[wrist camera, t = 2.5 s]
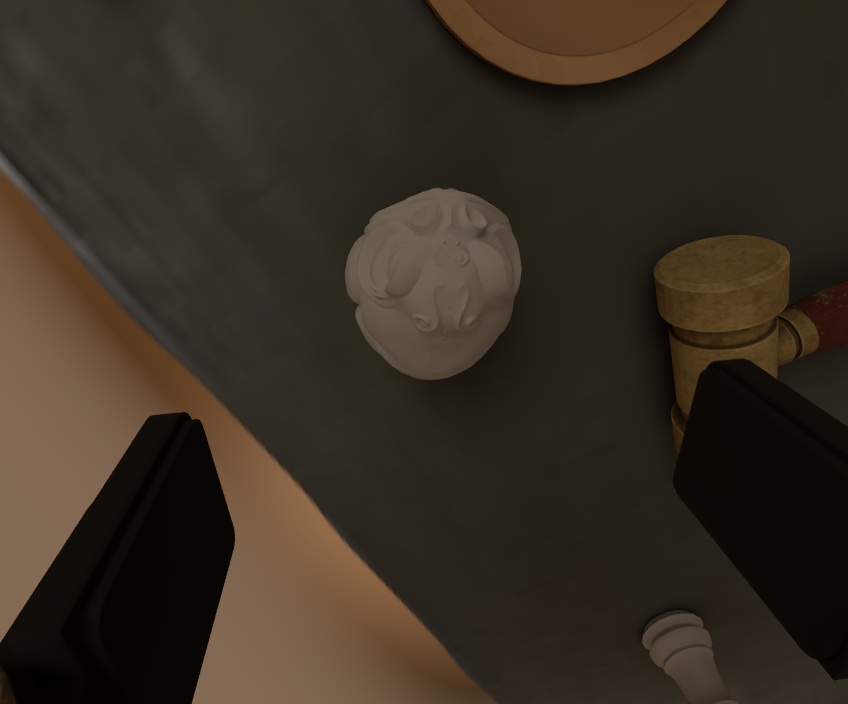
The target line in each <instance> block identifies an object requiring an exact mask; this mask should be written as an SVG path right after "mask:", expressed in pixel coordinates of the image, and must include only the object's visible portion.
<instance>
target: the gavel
mask: <svg viewBox="0 0 848 704" xmlns="http://www.w3.org/2000/svg"><path fill="white" fill-rule="evenodd" d="M789 275H790V254H789V252H788V250H787V249H786V248H785V247H784V246H782V245H781V244H779V243H776V242H774V241H771V240H768V239H765V238H761V237H755V236H747V235H729V236H718V237H712V238H706V239H702V240H698V241H694V242H691V243H688V244H685V245H683V246H681V247H679V248H676V249H675V250H673V251H671V252H670V253H668V254H667V255H665V256H664V257H663V258H662V259H660V260H659V261H658V263H657V264H656V265H655V268H654V278H655V286H656V295H657V303H658V310H659V313H660V315H661V317H662V318H663V319H665V320H666V321H667V322H668V323H669V327H668V329H669V338H670V347H671V356H672V365H673V374H674V382H675V391H676V399H677V400H676V401H675V403H674V405H673V406H672V410H671V419H672V427H673V435H674V443H675V447H676V449H677V451H678V453H679V451H680V447H681V444H682V440H683V436H684V432H685V428H686V424H687V420H688V416H689V412H690V408H691V405H692V401H693V397H694V393H695V389H696V385H697V381H698V377H699V375H700V373H701V372H702V371H703V370H705V369H706V368H707V366H708V365H709V364H710V363H711V362H713V361H719V360H730V359H740V358H742V359H747V360H749V361H751V362H753V363H754V364H756V365H757V366H759V367H760V368H762V369H763V370H765V371H766V372H767V373H769V374H770V375H772V376H773V377H775V378H776V379H777V377H778V367H779V366H781V365H784V364H786V363H789V362H791V361H792V360H794V359H797V358H800V357H802V356H805V355H807V354H810V353H813V352H818V351H822V350H827V349H832V348H836V347H841V346H843V345H846V344H848V280H846V281H844V282H841V283H839V284H836V285H834V286H831V287H829V288H826V289H824V290H821V291H819V292H816V293H814V294H811V295H809V296H807V297H805V298H803V299H802V300H800V301H799V302H797V303H795V304H794V305H792V306H790V307H789V308H787V309H786V310H784V309H785V308H786V306H787V304H788V301H789ZM783 310H784V311H783Z"/></svg>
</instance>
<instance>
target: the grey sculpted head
mask: <svg viewBox="0 0 848 704" xmlns="http://www.w3.org/2000/svg"><path fill="white" fill-rule="evenodd" d="M369 221H370V223H369V224H368V225H367V226H366V227H365V230H364V235H362V236H361V237H359V238H358V240H357V241H356V242H355V243H354V245H353V247H352V249H351V251H350V253H349V255H348V258H347V263H346V269H345V281H346V289H347V292H348V295H349V296H350V298H351V299H352V300H353V301H354V302H356V303H357V304H359V306H358V307H357V309H356V313H355V317H356V321H357V323H358V325H359V327H360V329H361V330H362V333H363V335H364V337H365V338H366V340H367V341H368V343H369V344H370V345H371V346H372V347H373V348H374V349H375V350H376V351H377V352H378V353H379V354H381V355H382V356H383V357H384V359H385V360H386V361H387V362H388V363H389V364H390V365H391V366H393V367H394V368H396V369H397V370H399V371H400V372H402V373H404V374H407V375H409V376H411V377H413V378H417V379H423V380H426V379H428V380H433V379H436V380H437V379H444V378H448V377H451V376H453V375H455V374H458V373H460V372H462V371H464V370H466V369H467V368H469V367H471V366H472V365H474V364H475V363H476V362H477V361H478V360H479V359H480V358H481V357H482V356H483V355H484V354H485V353H486V352H487V351H488V349H489V348H490V347H491V346H492V345H493V343H494V342H495V341H496V339H497V338H498V336H499V335H500V334H501V333H502V332H503V331H504V330H505V328H506V326H507V325H508V323H509V321H510V317H511V314H512V312H513V303H514V297H515V296H516V294H517V292H518V289H519V286H520V278H521V262H520V255H519V249H518V244H517V242H516V240H515V237H514V235H513V234H512V228H511V226H510V225H509V224H510V222H509V219H508V218H507V216H506V215H505V214H504V213H502V212H501V211H500V210H499V209H497V208H496V207H494V206H493V205H491V204H490V203H488V202H486V201H485V200H483V199H481V198H480V197H478V196H475V195H472V194H470V193H465V192H460V191H458V190H456V189H451V188H449V189H447V190H446V189H440V188H433V189H431V190H427V191H424V192H421V193H419V194H417V195H414V196H412V197H409V198H407V199H405V200H404V201H401V202H399V203H396V204H394V205H392V206H390V207H387V208H385V209H383V210H381V211H378V212H377V213H376V214H375V215H373V217H372V218H371V219H370V220H369Z"/></svg>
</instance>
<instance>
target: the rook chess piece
mask: <svg viewBox="0 0 848 704" xmlns="http://www.w3.org/2000/svg"><path fill="white" fill-rule="evenodd" d="M703 625H704V624H703V622H702V620H701V618H699V617H698V616H696V615H694V614H692V613H690V612H688V611H684V610H674V611H669V612H665V613H663V614H661V615H658V616H656V617H655V618H654V619H652V620H651V621H650V622H649V623H648V624H647V625H646V627H645V628H644V632H643V639H642V643H643V645H644V647H645V648H646V649H648V650H650V653H649V655H650V657H651V658H652V660H653V661H654V663H655V664H656V665H657V666H659V667H661V668H664V671H665V672H666V674H668V675H670V676H671V677H672V678H673V679H674V680H675V682H676V683H677V684H678V685H679V687H680V688H681V690H682V691H683V693H684V694H685V696H686V697H687V699H688V700H689V702H690V703H691V704H739V703H738V702H736V701H735V700H733V699H732V698H731V696H730V695H729V693H728V691H727V690H726V688H725V686H724V684H723V682H722V680H721V677H720V675H719V673H718V671H717V669H716V666H715V663H714V660H713V657H714V653H713V651H712V650H711V647H712V640H711V637H710V635H709V633H708V631H707V630H705V629H703Z"/></svg>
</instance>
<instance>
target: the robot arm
mask: <svg viewBox="0 0 848 704" xmlns="http://www.w3.org/2000/svg"><path fill="white" fill-rule="evenodd" d="M673 484H674V488H675V490H676V492H677V494H678V496H679V497H680V498H681V499H682V501H683V502H684V503H685V504H686V506H687V507H688V508H689V509H690V511H691V512H692V513H693V514H694V516H695V517H696V518H697V519H698V521H699V522H700V523H701V524H702V526H703V527H704V528H705V529H706V531H707V532H708V533H709V534H710V536H711V537H712V538H713V539H714V541H715V542H716V543H717V544H718V546H719V547H720V548H721V549H722V551H723V552H724V553H725V554H726V556H727V557H728V558H729V559H730V561H731V562H732V563H733V564H734V566H735V567H736V568H737V569H738V571H739V572H740V573H741V574H742V576H743V577H744V578H745V579H746V581H747V582H748V583H749V584H750V586H751V587H752V588H753V589H754V591H755V592H756V593H757V594H758V596H759V597H760V598H761V599H762V601H763V602H764V603H765V604H766V606H767V607H768V608H769V609H770V611H771V612H772V613H773V614H774V616H775V617H776V618H777V619H778V621H779V622H780V623H781V624H782V626H783V627H784V628H785V629H786V631H787V632H788V633H789V634H790V636H791V637H792V638H793V639H794V641H795V642H796V643H797V644H798V646H799V647H800V648H801V649H802V650H803V651H804V652H805V653H806V654H807V655H808V656H810V657H811V658H814V659H817V660H818V661H819V663H820V664H821V665H822V666H823V668H824V669H825V670H826V671H827V673H828V674H829V675H830V676H831V677H832V679H833V680H840V679H846V678H848V427H847V426H846V425H844V424H843V423H841V422H840V421H838V420H837V419H835V418H834V417H832V416H831V415H829V414H828V413H826V412H825V411H823V410H822V409H821V408H819V407H818V406H816V405H815V404H813V403H812V402H810V401H809V400H807V399H806V398H804V397H803V396H801V395H800V394H798V393H797V392H795V391H794V390H793V389H791V388H790V387H788V386H787V385H785V384H784V383H782V382H781V381H779V380H778V379H776V378H775V377H773V376H772V375H770V374H769V373H767V372H766V371H765V370H763V369H762V368H760V367H759V366H757V365H756V364H754V363H753V362H751V361H749V360H747V359H742V358H740V359H730V360H719V361H713V362H711V363H710V364H709V365H708V366H707V368H706V369H705V370H703V371H702V372H701V373H700V375H699V377H698V381H697V385H696V389H695V393H694V397H693V401H692V405H691V408H690V412H689V416H688V420H687V424H686V428H685V432H684V436H683V440H682V444H681V447H680V451H679V455H678V459H677V463H676V467H675V471H674V475H673ZM234 544H235V532H234V526H233V523H232V520H231V516H230V513H229V510H228V507H227V503H226V500H225V497H224V494H223V490H222V487H221V484H220V480H219V477H218V474H217V471H216V467H215V464H214V461H213V458H212V454H211V451H210V447H209V444H208V441H207V437H206V434H205V431H204V428H203V425H202V423H201V421H200V420H198V419H193V420H192V419H191V417H190V416H189V414H188V413H186V412H182V413H170V414H160V415H152V416H150V417H149V418H148V419H147V420H146V421H145V423H144V424H143V426H142V428H141V429H140V430H139V432H138V434H137V435H136V437H135V438H134V440H133V441H132V443H131V445H130V446H129V447H128V449H127V451H126V452H125V454H124V455H123V457H122V458H121V460H120V461H119V463H118V464H117V466H116V468H115V469H114V471H113V472H112V474H111V475H110V477H109V479H108V480H107V482H106V483H105V484H104V486H103V488H102V489H101V491H100V492H99V494H98V495H97V497H96V498H95V500H94V501H93V503H92V504H91V505H90V506H89V508H88V509H87V511H86V512H85V514H84V515H83V517H82V518H81V520H80V521H79V523H78V524H77V526H76V527H75V529H74V530H73V532H72V533H71V535H70V537H69V538H68V540H67V541H66V543H65V544H64V546H63V547H62V549H61V550H60V552H59V554H58V555H57V557H56V558H55V560H54V561H53V563H52V564H51V566H50V567H49V569H48V571H47V572H46V573H45V575H44V576H43V578H42V580H41V581H40V583H39V584H38V586H37V587H36V589H35V591H34V592H33V594H32V595H31V597H30V598H29V600H28V601H27V603H26V604H25V606H24V607H23V609H22V610H21V612H20V613H19V615H18V617H17V618H16V620H15V621H14V623H13V624H12V626H11V627H10V629H9V630H8V632H7V633H6V635H5V637H4V638H3V639H2V641H1V643H0V704H192V700H193V697H194V693H195V689H196V686H197V682H198V678H199V675H200V671H201V667H202V664H203V660H204V656H205V653H206V649H207V645H208V642H209V638H210V634H211V631H212V627H213V623H214V620H215V616H216V612H217V608H218V605H219V601H220V598H221V594H222V590H223V587H224V583H225V579H226V575H227V572H228V568H229V565H230V560H231V557H232V553H233V550H234Z"/></svg>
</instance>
